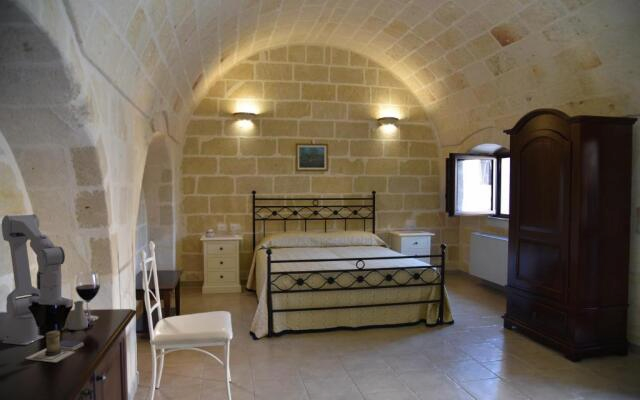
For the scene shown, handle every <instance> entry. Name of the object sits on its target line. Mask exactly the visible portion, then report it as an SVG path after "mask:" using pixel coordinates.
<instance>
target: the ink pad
mask: <svg viewBox="0 0 640 400" xmlns="http://www.w3.org/2000/svg"><path fill="white" fill-rule="evenodd" d="M82 347H84V342H81V341H72V340H65V339H64V340H61V341H60V348H61V350H63V351H72V352H75V350H77V349H79V348H82Z"/></svg>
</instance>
